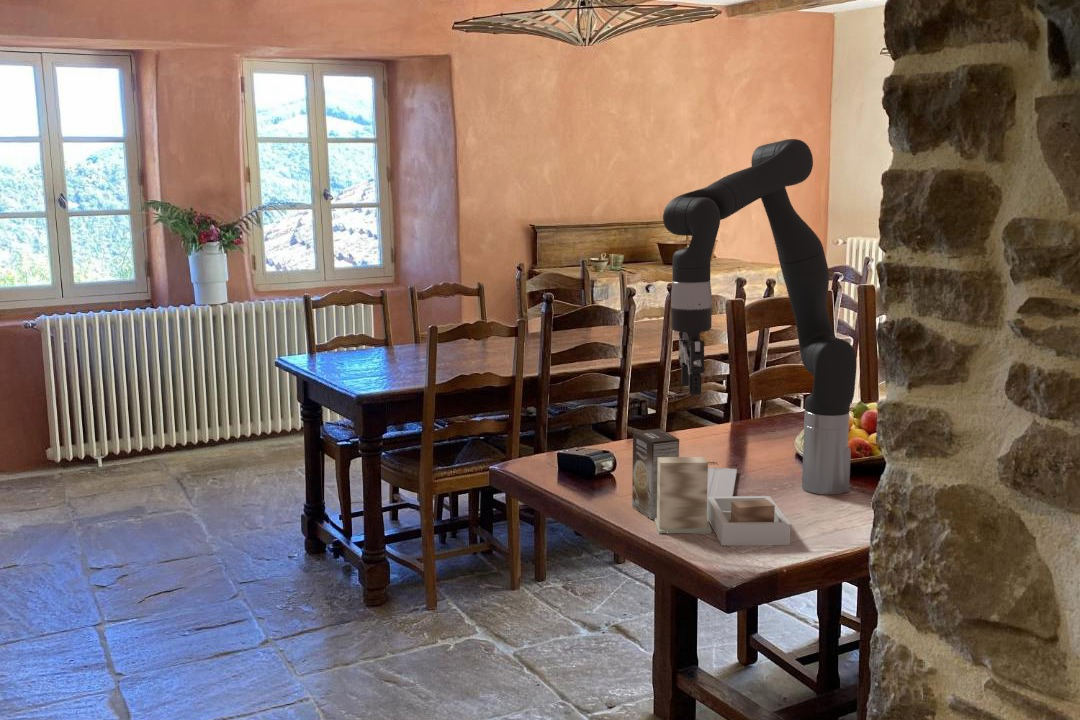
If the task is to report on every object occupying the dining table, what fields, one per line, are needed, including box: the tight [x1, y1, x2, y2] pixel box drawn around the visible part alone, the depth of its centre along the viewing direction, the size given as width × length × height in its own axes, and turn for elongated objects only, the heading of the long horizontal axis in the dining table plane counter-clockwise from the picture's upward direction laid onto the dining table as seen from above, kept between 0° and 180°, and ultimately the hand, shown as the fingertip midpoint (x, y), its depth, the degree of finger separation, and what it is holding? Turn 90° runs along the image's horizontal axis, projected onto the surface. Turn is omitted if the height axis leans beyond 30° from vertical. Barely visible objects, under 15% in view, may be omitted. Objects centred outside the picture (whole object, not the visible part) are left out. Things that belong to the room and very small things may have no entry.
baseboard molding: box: [707, 461, 738, 497], centre depth 224 cm, size 31×3×12 cm
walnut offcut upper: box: [731, 499, 775, 523], centre depth 194 cm, size 7×4×4 cm, turn 100°
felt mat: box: [654, 519, 713, 534], centre depth 201 cm, size 10×7×1 cm
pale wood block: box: [657, 456, 709, 529], centre depth 199 cm, size 9×4×13 cm, turn 91°
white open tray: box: [707, 495, 791, 547], centre depth 199 cm, size 12×17×4 cm
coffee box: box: [631, 428, 680, 520], centre depth 209 cm, size 9×6×16 cm
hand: (691, 389), depth 198 cm, fingers open, 8 cm apart
